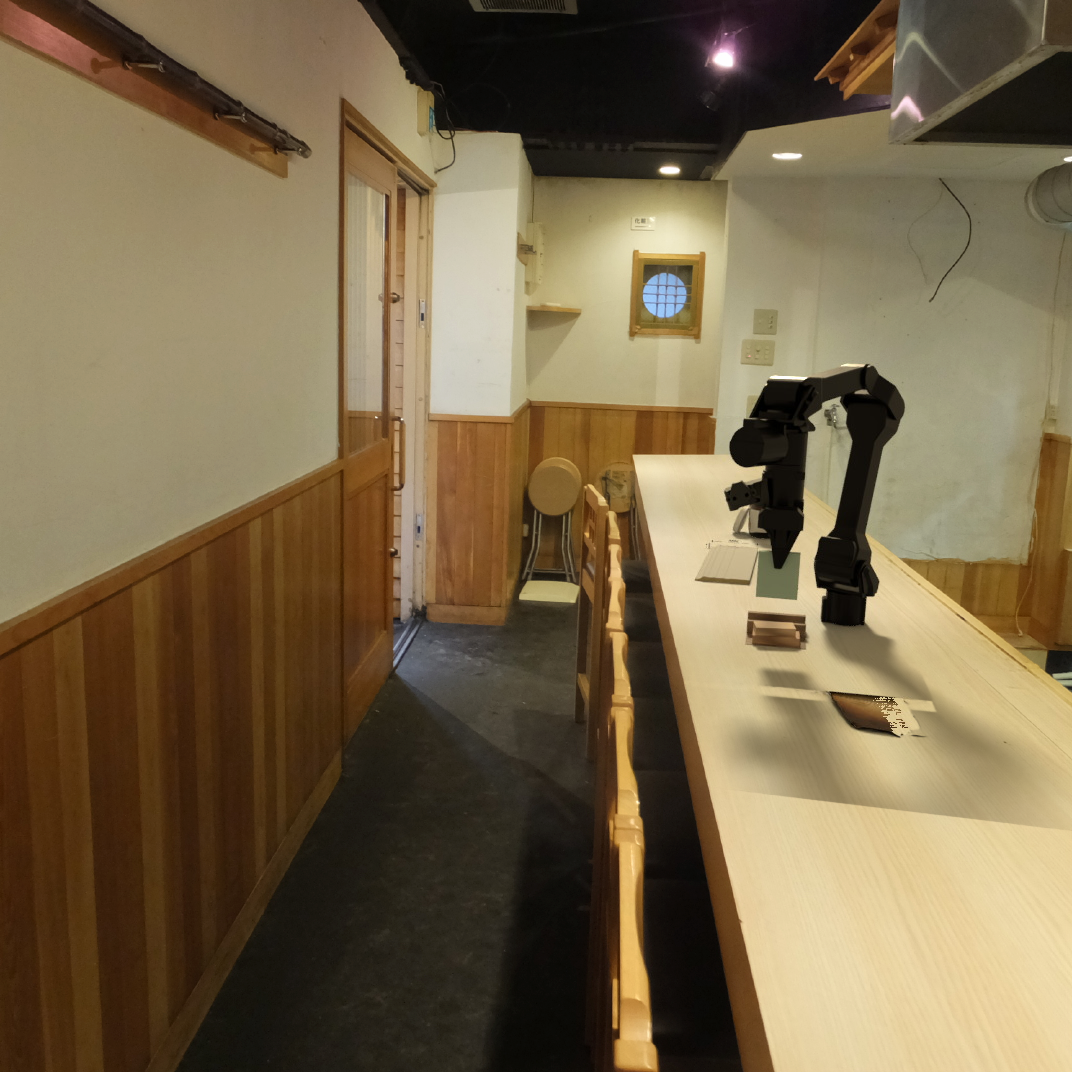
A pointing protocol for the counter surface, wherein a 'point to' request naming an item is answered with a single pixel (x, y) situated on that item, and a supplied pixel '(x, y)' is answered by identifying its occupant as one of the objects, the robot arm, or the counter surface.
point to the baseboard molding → (728, 564)
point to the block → (777, 576)
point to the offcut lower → (777, 640)
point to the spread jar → (750, 521)
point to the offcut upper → (774, 628)
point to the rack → (777, 617)
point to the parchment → (865, 710)
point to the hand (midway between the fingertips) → (777, 567)
